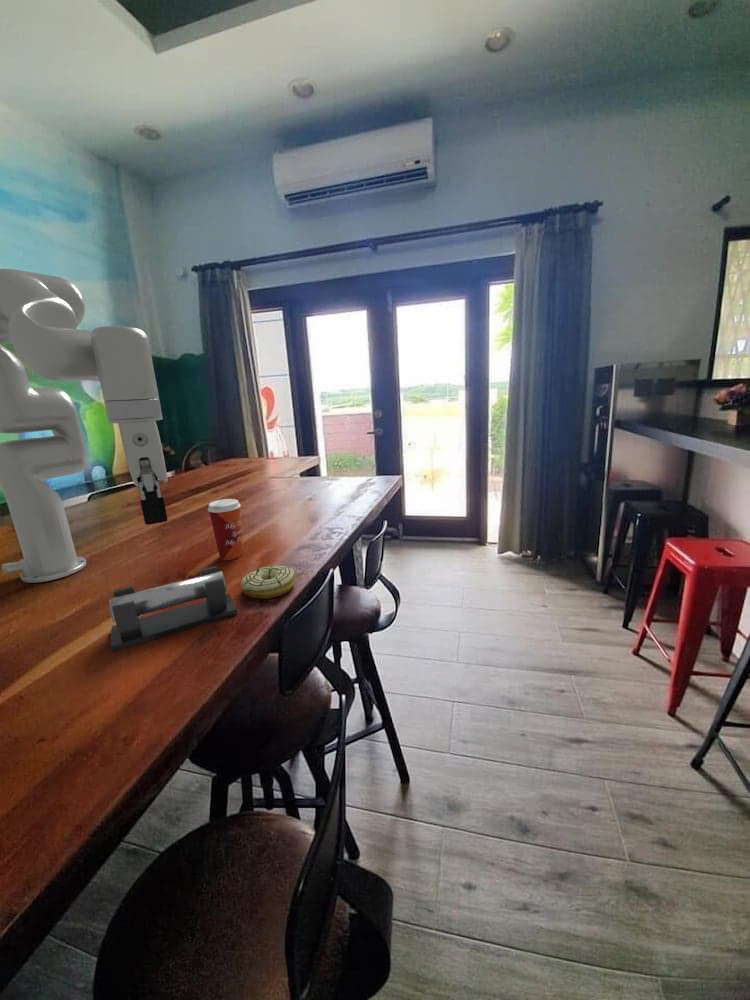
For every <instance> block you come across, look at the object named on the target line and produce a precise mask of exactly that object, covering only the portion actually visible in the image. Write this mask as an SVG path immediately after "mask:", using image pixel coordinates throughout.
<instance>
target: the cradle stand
mask: <svg viewBox="0 0 750 1000" xmlns="http://www.w3.org/2000/svg"><path fill="white" fill-rule="evenodd" d="M216 572H219V570H218V566H217V565H215V566H210V567H205V568H203V569H202V568H201V569H199V573H200V576H204V575H208V574H212V573H216ZM205 586H206V592H207V597H205V598H204V600H202V601H198V602H195V603H192V604H187V605H183V606H180V607H177V608H172V609H169V610H165V611H162V612H159V613H156V614H152V615H148V616H144V617H141V615H140V616H137V612H136V608H135V604H134V601H131V602H127V603H123V604H120V605H116V606H112V609H113V613H114V617H115V621H116V622H115V624H116V625H112V626H111V633H110V635H111V636H110V645H109V646H110V647H109V648H110V651H111V653H113V652H116V651H120V650H124V649H126V648H129V647H130V648H131V647H134V646H137V645H140V644H143V643H146V642H150V641H152V640H153V641H154V640H157V639H160V638H164V637H166V636H169V635H172V634H175V633H176V634H177V633H180V632H182V631H186V630H189V629H192V628H197V627H199V626H202V625H205V624H209V623H212V622H216V621H220V620H222V619H226V618H229V617H232V616H235V615H238V609H237V607H236V605H235V603H234V601H233V599H232V597H231V595H230V594H229V593H227V592H225V587H224V581H223V578H221V579H217V580H213V581H209V582H206V583H205ZM135 592H136V590H135V587H134V585H133V586H127V587H123V588H119V589H114V590H113V595H114V598H115V597H119V596H123V595H127V594H131V593H135ZM226 593H227V594H226Z"/></svg>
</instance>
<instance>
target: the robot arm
mask: <svg viewBox="0 0 750 1000" xmlns="http://www.w3.org/2000/svg"><path fill="white" fill-rule="evenodd" d="M85 307H86V305H85V302H84V298H83V296H82V294H81V292H80V291H79V289H78V288H77V286H76V285H74V284H73V283H72V282H70V281H69V280H68V279H66V278H63V277H61V276H60V277H59V276H55V275H50V274H43V273H36V272H32V271H26V270H20V269H19V270H18V269H15V268H0V434H9V435H10V434H25V433H33V432H35V433H36V432H46V431H51V432H52V434H53V435H50V436H43V437H31V438H30V437H28V438H21V439H20V438H19V439H12V440H11V439H10V440H6V441H3V442H0V488H1V491H2V493H3V495H4V498H5V501H6V504H7V507H8V510H9V514H10V517H11V519H12V523H13V527H14V530H15V532H16V533H15V534H16V536H17V540H18V543H19V545H20V550H21V552H22V555H23V558H22V559H18V560H19V561H15V562H6V563H3V564H1V569H2V572H3V573H6V574H13V573H17V572H20V580H21V581H22V582H24V583H28V584H29V583H30V584H31V583H33V584H34V583H35V584H36V583H45V582H49V581H54V580H59V579H61V578H64V577H65V578H66V577H68V576H70V575H72V574H76V573H78V572H79V571H81V570H82V569H84V568H85V567H86V566H87V559H86V558H85V557H83V556H78V555H77V552H76V548H75V545H74V540H73V537H72V533H71V530H70V525H69V523H68V522H69V521H68V517H67V514H66V510H65V507H64V503H63V499H62V498H61V497H62V496H61V495H60V494H59V493H58V492H57V491H56V490H54V489H53V488H51V486H48V485H46V484H45V483H44V481H46V480H49V479H55V478H62V477H64V476H65V477H66V476H71V475H75V474H79V473H82V472H83V471H85V469H86V468H87V466H88V455H87V451H86V445H85V442H84V441H85V440H84V435H83V432H82V429H81V428H82V427H81V423H80V419H79V416H78V415H79V414H78V411H77V408H76V406H75V403H74V401H73V399H72V397H70V395H69V394H68V393H67V392H66V391H64V390H62V389H60V388H58V387H57V388H56V387H44V386H43V387H31V385H30V383H29V380H28V376H27V372H26V368H25V366H24V364H25V365H26V366H28V367H29V368H30V369H31V370H32V371H33V372H35V373H37V374H38V375H39V376H41V377H43V378H46V379H50V380H54V381H59V382H62V381H63V382H66V381H67V382H68V381H99V384H100V389H101V392H102V398H103V401H104V407H105V412H106V416H107V417H106V418H107V421H108V424H118V430H119V434H120V438H121V443H122V447H123V451H124V455H125V459H126V463H127V467H128V470H129V473H130V476H131V478H132V482H133V485H135V486H136V487H139V493H140V500H139V502H140V506H141V510H142V516H143V519H144V520H143V521H144V524H145V525H146V526H149V525H155V524H160V523H167V521H168V514H167V510H166V505H165V503H166V502H165V499H164V496H163V494H162V490H161V485H160V482H161V481H162V482H163V483H164V484H166V483H167V482H168V481H169V478H168V473H167V467H166V462H165V456H164V452H163V445H162V442H161V441H162V440H161V437H160V432H159V429H158V424H157V422H156V421H161V420H162V421H163V419H164V418H163V412H162V406H161V401H160V395H159V390H158V384H157V380H156V374H155V369H154V363H153V357H152V351H151V346H150V341H149V338H148V335H147V334H146V332H144V331H143V329H140V328H137V327H132V326H122V325H107V326H106V325H105V326H98V327H95V328H94V329H93V330H90V329H88V330H85V329H79V328H78V327H79V325H80V324H81V323H82V321H83V320H84V317H85V312H86V308H85ZM77 328H78V329H77ZM3 344H11V346H12V349H13V350H14V352H15V354H16V355H17V356H18V357H17V356H16V355H15V354H14V353H13V352H12V351H10V350H9V349H8V348H7V347H5V346H4V345H3ZM22 362H23V363H24V364H23V363H22Z"/></svg>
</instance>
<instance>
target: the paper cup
mask: <svg viewBox="0 0 750 1000" xmlns="http://www.w3.org/2000/svg"><path fill="white" fill-rule="evenodd" d="M241 506H242V505H241V504H240V502H239V500H238V499H235V498H224V499H223V498H222V499H217V500H214V501H212V502H210V503H209V504H208V508H207V512H209V516H210V520H211V521H210V522H211V525H212V529H213V533H214V539H215V543H216V546H217V551H218V555H219V558H220V560H222V559H226V560H225V561H228V560H227V559H233V560H236V559H235V558H237V557H239V558H241V557H242V556H243V555H244V548H243V546H244V545H243V534H242V533H243V532H242V519H241V509H240V508H241ZM242 554H243V555H242ZM241 555H242V556H241ZM240 556H241V557H240ZM237 559H238V558H237Z"/></svg>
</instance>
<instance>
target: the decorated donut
mask: <svg viewBox="0 0 750 1000" xmlns="http://www.w3.org/2000/svg"><path fill="white" fill-rule="evenodd" d="M295 582H296V574H295V569H293V568H291V567H289V566H287V565H286V566H285V565H283V564H282V565H281V564H279V565H268V566H263V567H260V568H259V567H258V568H256V569H254V570H253V571H251V572H249V573H247V574H246V575H245V576H244V577H242V579H241V581H240V583H241V590H242V592H243V594H244V595H245V596H246V597H250V598H251V599H254V598H255V599H258V600H260V599H265V600H267V599H272V598H277V597H278V598H279V597H281V596H284V595H286V594H287V593H288V592H289V591H291V589H292V588H293V585H294V584H295Z"/></svg>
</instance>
